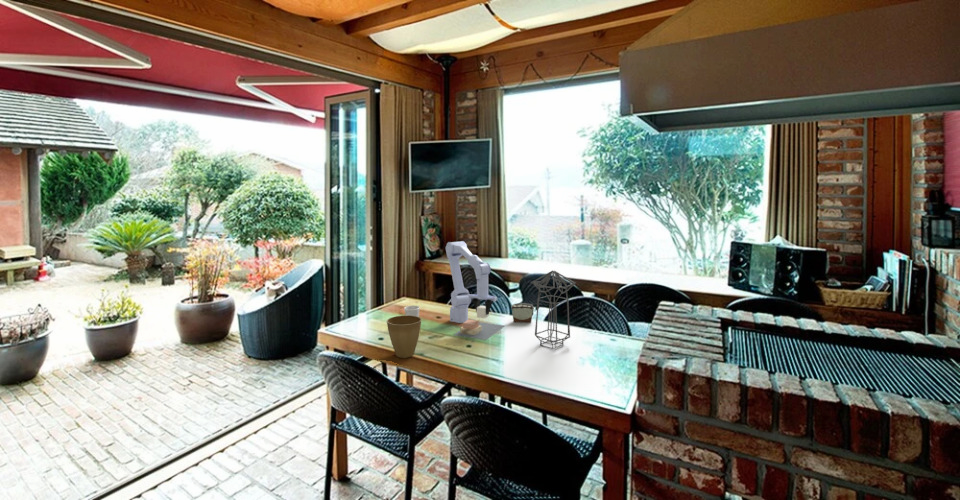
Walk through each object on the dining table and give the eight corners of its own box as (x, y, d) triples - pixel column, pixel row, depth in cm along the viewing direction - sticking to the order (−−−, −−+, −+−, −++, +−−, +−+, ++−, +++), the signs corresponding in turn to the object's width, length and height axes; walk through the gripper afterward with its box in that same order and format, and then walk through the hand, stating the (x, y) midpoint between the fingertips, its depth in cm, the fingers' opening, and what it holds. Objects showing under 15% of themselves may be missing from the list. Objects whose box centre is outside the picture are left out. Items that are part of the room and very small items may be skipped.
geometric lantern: (549, 337, 215) (550, 266, 210) (576, 345, 203) (578, 270, 199) (527, 345, 205) (528, 270, 200) (554, 354, 193) (555, 275, 188)
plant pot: (421, 360, 187) (420, 324, 185) (385, 362, 186) (384, 325, 184) (423, 348, 202) (422, 314, 200) (390, 349, 201) (389, 315, 199)
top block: (476, 317, 223) (476, 307, 222) (480, 314, 227) (480, 305, 226) (485, 318, 221) (485, 308, 220) (488, 315, 225) (488, 306, 224)
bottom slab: (460, 332, 220) (460, 328, 220) (467, 328, 228) (467, 323, 227) (474, 335, 217) (474, 330, 217) (481, 330, 224) (481, 325, 224)
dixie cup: (421, 323, 239) (421, 305, 238) (418, 328, 231) (417, 309, 229) (406, 323, 240) (406, 305, 238) (402, 328, 232) (402, 309, 230)
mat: (452, 336, 218) (452, 334, 218) (474, 322, 239) (474, 321, 239) (485, 341, 210) (485, 339, 210) (505, 327, 231) (505, 325, 231)
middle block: (462, 327, 221) (462, 322, 220) (468, 324, 226) (468, 319, 226) (473, 329, 218) (473, 324, 218) (478, 325, 223) (478, 321, 223)
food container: (533, 320, 242) (533, 303, 241) (533, 324, 236) (534, 305, 235) (511, 320, 244) (511, 302, 242) (510, 323, 238) (510, 305, 236)
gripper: (466, 287, 221) (466, 314, 223) (492, 290, 215) (492, 317, 217) (472, 284, 227) (472, 310, 229) (498, 287, 221) (498, 313, 223)
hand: (482, 313), depth 224 cm, fingers closed on top block, 5 cm apart
